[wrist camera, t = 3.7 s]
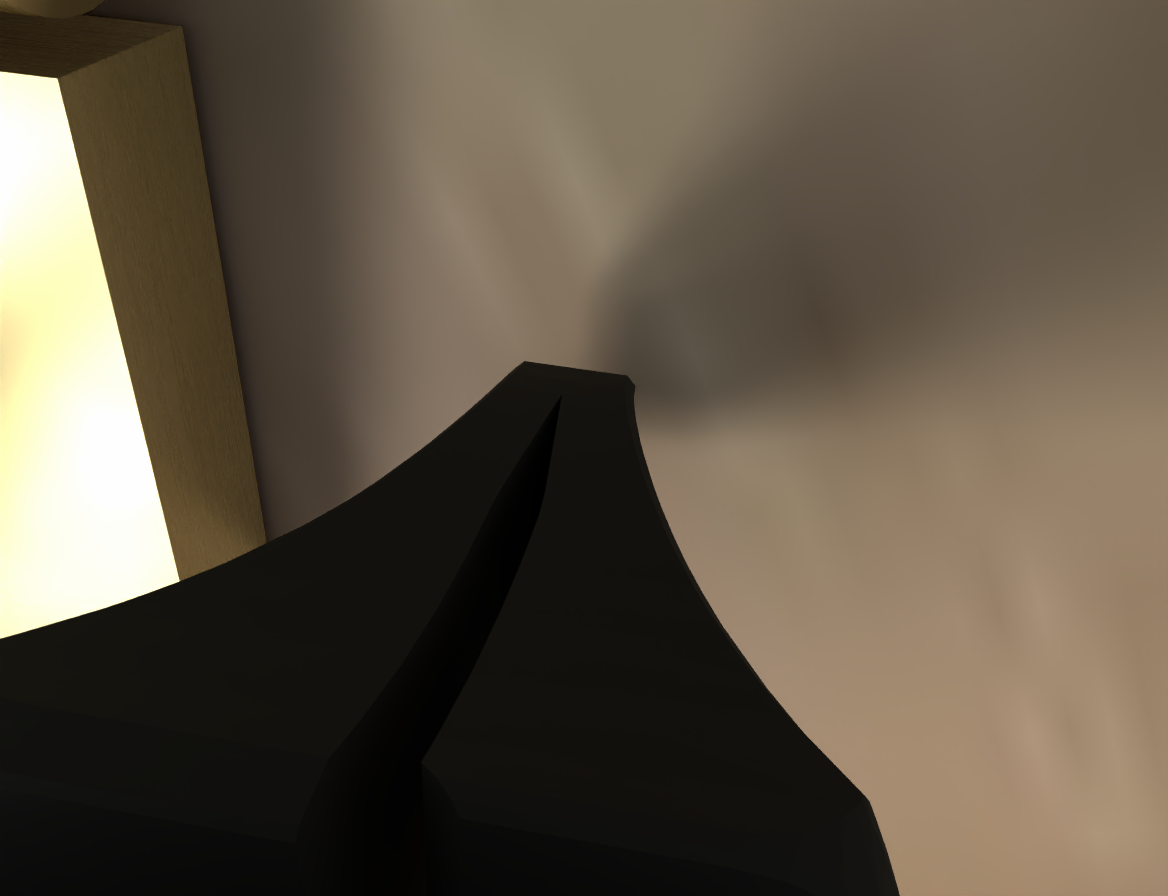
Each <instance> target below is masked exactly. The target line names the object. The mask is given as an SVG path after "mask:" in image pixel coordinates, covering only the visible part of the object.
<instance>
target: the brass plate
mask: <svg viewBox="0 0 1168 896" xmlns="http://www.w3.org/2000/svg"><path fill="white" fill-rule="evenodd" d="M103 1H105V0H0V638H4V637H8V636H11V635H15V634H18V633H21V632H25V631H28V630H31V629H35V628H38V627H42V626H45V625H48V624H52V623H55V622H59V621H62V620H65V619H69V618H72V617H76V616H79V615H82V614H86V613H89V612H93V611H96V610H99V609H103V608H106V607H109V606H111V605H114V604H117V603H120V602H123V601H126V600H129V599H132V598H135V597H138V596H141V595H143V594H146V593H149V592H152V591H154V590H157V589H160V588H163V587H165V586H168V585H171V584H174V583H176V582H179V581H181V580H184V579H186V578H189V577H191V576H194V575H196V574H199V573H201V572H204V571H206V570H209V569H211V568H214V567H216V566H218V565H221V564H223V563H226V562H228V561H230V560H232V559H234V558H236V557H238V556H241V555H243V554H245V553H247V552H249V551H251V550H253V549H255V548H257V547H259V546H262V545H264V544H266V543H267V541H266V535H265V529H264V523H263V517H262V511H261V505H260V499H259V492H258V486H257V480H256V474H255V468H254V462H253V456H252V450H251V444H250V438H249V431H248V425H247V419H246V413H245V407H244V401H243V395H242V389H241V383H240V377H239V370H238V364H237V358H236V352H235V346H234V340H233V334H232V328H231V322H230V315H229V309H228V303H227V297H226V291H225V285H224V279H223V273H222V267H221V261H220V254H219V248H218V242H217V236H216V230H215V224H214V218H213V212H212V206H211V200H210V193H209V187H208V181H207V175H206V169H205V163H204V157H203V151H202V145H201V138H200V132H199V126H198V120H197V114H196V108H195V102H194V96H193V90H192V84H191V77H190V71H189V65H188V59H187V53H186V47H185V41H184V35H183V29H182V26H174V25H165V24H157V23H148V22H139V21H131V20H122V19H113V18H105V17H96V16H87V15H82V14H84V13H86V12H88V11H91V10H93V9H94V8H96V7H97V6H98V5H100V4H101V3H102V2H103Z"/></svg>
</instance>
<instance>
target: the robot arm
mask: <svg viewBox="0 0 1168 896" xmlns="http://www.w3.org/2000/svg"><path fill="white" fill-rule="evenodd" d="M634 393H635V385H634V384H633V382H632V381H631V380H630V379H629V377H628V376H626V375H619V374H612V373H605V372H597V371H590V370H583V369H576V368H569V367H562V366H555V365H548V364H541V363H534V362H527V361H524V362H523V363H522V364H520V365H519V366H517V367H516V368H515V369H514V370H513V371H511V372H510V373H509V374H508V375H507V376H506V377H505V378H504V379H503V380H502V381H501V382H500V383H498V384H497V385H496V386H495V387H494V388H493V389H492V390H491V391H490V392H489V393H488V394H486V395H485V396H484V397H483V398H482V399H481V400H480V401H479V402H477V403H476V404H475V405H474V406H473V407H472V408H471V409H470V410H468V411H467V412H466V413H465V414H464V415H463V416H461V417H460V418H459V419H458V420H457V421H455V422H454V423H453V424H452V425H451V426H449V427H448V428H447V429H446V430H444V431H443V432H442V433H441V434H440V435H438V436H437V437H436V438H435V439H434V440H432V441H431V442H430V443H429V444H427V445H426V446H425V447H424V448H422V449H421V450H420V451H418V452H417V453H416V454H414V455H413V456H411V457H410V458H409V459H407V460H406V461H404V462H403V463H402V464H400V465H399V466H398V467H396V468H395V469H393V470H392V471H391V472H389V473H388V474H387V475H385V476H384V477H382V478H381V479H380V480H378V481H377V482H375V483H374V484H372V485H371V486H369V487H368V488H366V489H365V490H363V491H362V492H360V493H359V494H357V495H356V496H354V497H352V498H351V499H349V500H347V501H346V502H344V503H342V504H341V505H339V506H337V507H335V508H334V509H332V510H330V511H328V512H327V513H325V514H323V515H321V516H320V517H318V518H316V519H314V520H312V521H311V522H309V523H307V524H305V525H303V526H301V527H299V528H297V529H295V530H293V531H291V532H289V533H287V534H285V535H283V536H280V537H278V538H276V539H274V540H272V541H270V542H268V543H266V544H264V545H262V546H259V547H257V548H255V549H253V550H251V551H249V552H247V553H245V554H243V555H241V556H238V557H236V558H234V559H232V560H230V561H228V562H226V563H223V564H221V565H218V566H216V567H214V568H211V569H209V570H206V571H204V572H201V573H199V574H196V575H194V576H191V577H189V578H186V579H184V580H181V581H179V582H176V583H174V584H171V585H168V586H165V587H163V588H160V589H157V590H154V591H152V592H149V593H146V594H143V595H141V596H138V597H135V598H132V599H129V600H126V601H123V602H120V603H117V604H114V605H111V606H109V607H106V608H103V609H99V610H96V611H93V612H89V613H86V614H82V615H79V616H76V617H72V618H69V619H65V620H62V621H59V622H55V623H52V624H48V625H45V626H42V627H38V628H35V629H31V630H28V631H25V632H21V633H18V634H15V635H11V636H8V637H4V638H0V896H900V895H899V891H898V887H897V883H896V880H895V877H894V873H893V870H892V866H891V863H890V859H889V856H888V853H887V850H886V847H885V844H884V841H883V838H882V835H881V832H880V829H879V826H878V823H877V820H876V818H875V815H874V812H873V809H872V807H871V804H870V802H869V800H868V799H867V798H866V797H865V795H864V794H863V793H862V792H861V791H860V790H859V789H858V788H857V787H856V786H855V785H854V784H853V783H852V782H851V781H850V780H849V779H848V778H847V777H846V776H845V775H844V774H843V773H842V772H841V771H840V770H839V769H838V768H837V767H836V766H835V765H834V764H833V763H832V761H831V760H830V759H829V758H828V757H827V756H826V755H825V754H824V753H823V752H822V751H821V750H820V749H819V748H818V747H817V746H816V745H815V744H814V743H813V742H812V741H811V740H810V739H809V738H808V737H807V736H806V735H805V734H804V732H803V731H802V730H801V729H800V728H799V727H798V725H797V724H796V723H795V722H794V721H793V719H792V718H791V717H790V716H789V714H788V713H787V712H786V711H785V710H784V708H783V707H782V706H781V705H780V704H779V702H778V701H777V700H776V699H775V697H774V696H773V695H772V694H771V693H770V691H769V690H768V689H767V688H766V686H765V685H764V683H763V682H762V681H761V679H760V678H759V676H758V675H757V674H756V672H755V671H754V669H753V668H752V667H751V665H750V664H749V662H748V661H747V660H746V658H745V657H744V655H743V654H742V653H741V651H740V650H739V648H738V647H737V646H736V644H735V643H734V641H733V640H732V639H731V637H730V636H729V634H728V633H727V632H726V630H725V629H724V627H723V626H722V624H721V623H720V621H719V619H718V618H717V616H716V614H715V613H714V611H713V609H712V608H711V606H710V604H709V603H708V601H707V599H706V598H705V596H704V594H703V593H702V591H701V589H700V587H699V586H698V584H697V582H696V580H695V578H694V576H693V575H692V573H691V571H690V569H689V567H688V565H687V563H686V561H685V559H684V557H683V555H682V553H681V551H680V549H679V547H678V545H677V543H676V540H675V538H674V536H673V534H672V532H671V529H670V527H669V524H668V522H667V520H666V517H665V515H664V512H663V510H662V508H661V505H660V502H659V500H658V497H657V494H656V492H655V489H654V486H653V483H652V480H651V476H650V473H649V470H648V467H647V463H646V460H645V457H644V454H643V450H642V446H641V442H640V438H639V433H638V428H637V423H636V417H635V409H634Z"/></svg>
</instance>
